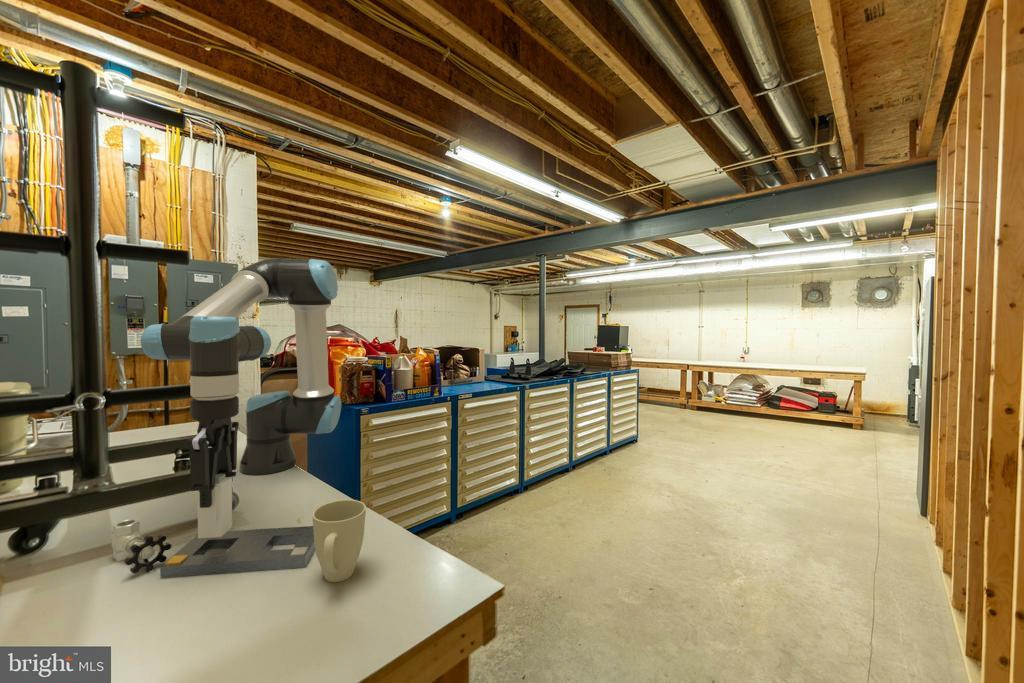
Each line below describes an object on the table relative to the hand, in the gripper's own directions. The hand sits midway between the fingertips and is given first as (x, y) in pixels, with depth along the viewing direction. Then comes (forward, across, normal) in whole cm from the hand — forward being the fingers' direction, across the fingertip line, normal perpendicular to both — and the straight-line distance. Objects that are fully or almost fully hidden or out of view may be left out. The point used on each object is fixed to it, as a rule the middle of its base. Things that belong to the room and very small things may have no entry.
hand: (215, 516), depth 79 cm
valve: (+8, 0, -14) cm, 16 cm away
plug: (+3, 0, 0) cm, 3 cm away
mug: (+8, +10, +25) cm, 28 cm away
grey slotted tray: (+8, 0, +6) cm, 10 cm away
